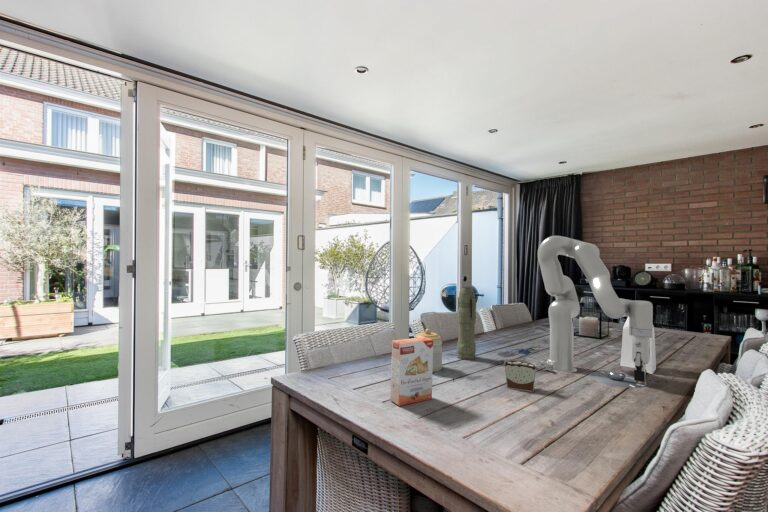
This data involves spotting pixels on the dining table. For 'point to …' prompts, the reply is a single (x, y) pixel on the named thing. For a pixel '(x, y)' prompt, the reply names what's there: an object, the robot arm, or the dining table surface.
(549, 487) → the dining table surface
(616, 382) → the dial board
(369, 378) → the dining table surface
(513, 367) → the food container
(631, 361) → the milk
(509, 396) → the dining table surface
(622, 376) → the lever
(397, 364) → the cracker box
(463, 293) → the thermos
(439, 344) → the jar
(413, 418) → the dining table surface
